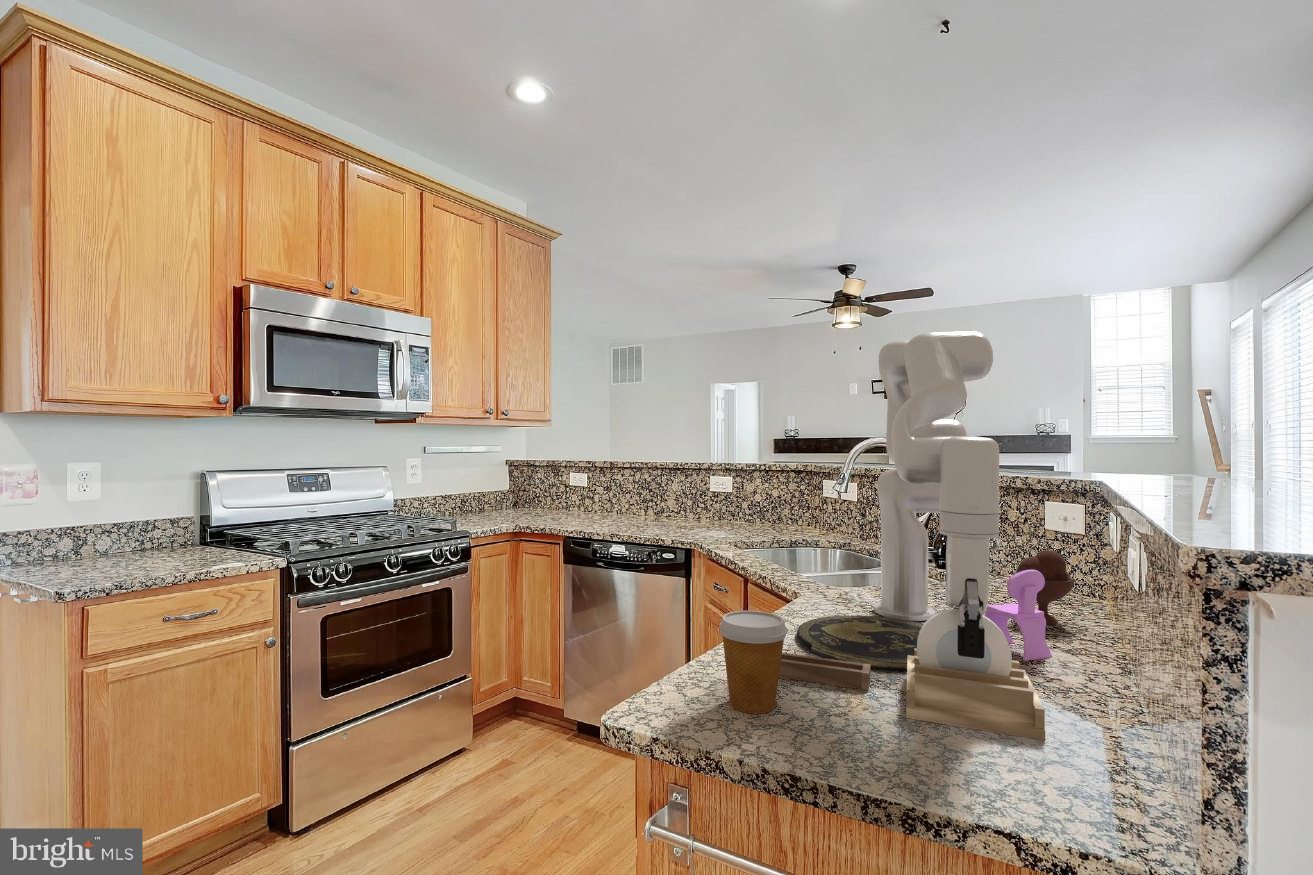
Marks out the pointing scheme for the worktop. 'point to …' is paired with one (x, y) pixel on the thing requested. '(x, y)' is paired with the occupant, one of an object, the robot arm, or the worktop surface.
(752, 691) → the disposable coffee cup
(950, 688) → the dish rack
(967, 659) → the side plate
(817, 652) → the decorative plate
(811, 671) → the plate stand
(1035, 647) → the toy chair
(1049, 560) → the ice cream bowl
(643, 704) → the worktop surface
